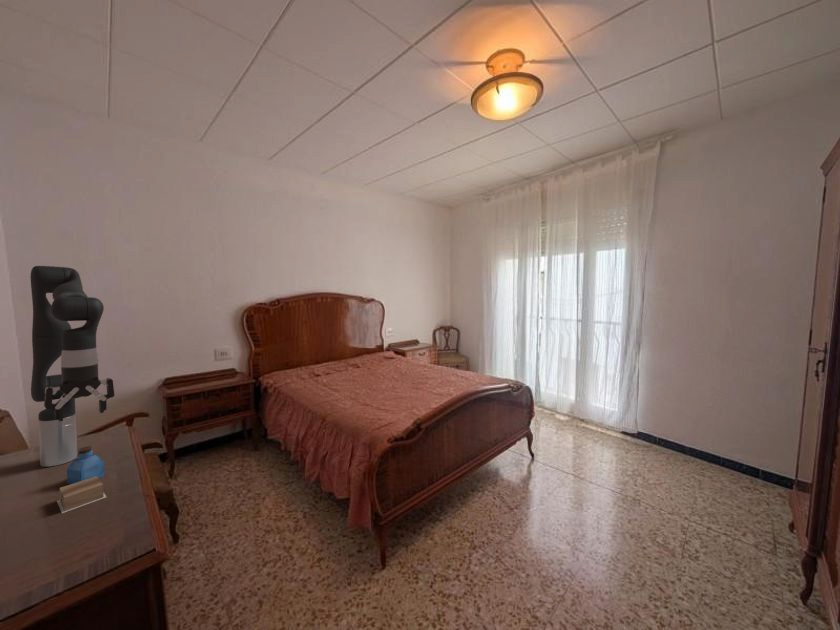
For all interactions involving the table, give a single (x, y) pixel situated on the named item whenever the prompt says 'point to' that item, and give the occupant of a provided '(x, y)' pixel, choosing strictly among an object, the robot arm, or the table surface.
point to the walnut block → (81, 493)
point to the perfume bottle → (85, 466)
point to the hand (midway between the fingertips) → (81, 416)
